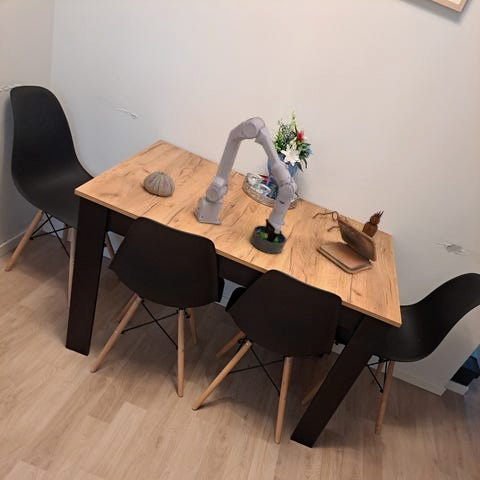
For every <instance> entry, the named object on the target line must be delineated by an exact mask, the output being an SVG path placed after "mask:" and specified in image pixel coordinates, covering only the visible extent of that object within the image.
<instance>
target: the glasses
mask: <svg viewBox="0 0 480 480" xmlns="http://www.w3.org/2000/svg"><path fill="white" fill-rule="evenodd" d="M334 213H335V214H336V219H335V217H334ZM319 215H321V216H326V215H331V219H332V220H333V221H335V222H338V221H337V219H338V218H341V219H343V218H342V217H341V216H340V215H339V212H338V211H336V210H334V211H332V212H331V211H329V212H326V213H322V212H317V213H316V214H314V216H313V217H312V218H313V219H315V218H316V217H317V216H319ZM344 220H345V221H346V222H348V223H349V224H350V221H348V220H347V219H344ZM334 228H335V229H339V226H337V225H336V226H335V225H334V226H331V227H330V228H329V229H327V232H331V230H333V229H334Z"/></svg>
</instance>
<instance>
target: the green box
mask: <svg viewBox="0 0 480 480" xmlns="http://www.w3.org/2000/svg"><path fill="white" fill-rule="evenodd" d="M258 236H260V237H261V238H263V239H264V240H267V236H268V234H267V233H263V232H260V234H258ZM273 243H278V239H277V237H276V239H275V240H274V241H273Z"/></svg>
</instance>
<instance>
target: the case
mask: <svg viewBox="0 0 480 480" xmlns="http://www.w3.org/2000/svg"><path fill="white" fill-rule="evenodd" d="M341 218H342V217H341ZM341 218H338V219H337V218H336V219H337V221H336V222H337V224H338V227H339V228H338V229H339V232H340V233H339V234H340V237H341V240H342V241H343V242H342V241H335V242H331V243H327V244H323V245H318V246H317V251H318V252H320V253H321V254H322V255H323V256H324V257H326V258H327V259H329V260H330V261H331V262H333V264H335V265H337V266H338V267H339V268H341V269H342V270H344V271H345V272H346V273H348V274H351V275H352V274H353V275H354V274H356V273H359V272H362V271H365V270H368V269H370V268H373V262H375V263H376V262H377V261H378V258H377V243H376V240H374V238H373V237H372V238H371V237H369V236H368V235H366V234H365V233H363V232H362V230H361V229H358V228H357V227H355V226H354V225H353V224H351V223H350V222H349V221H348V222H349V223H348V222H346V221H345V220H346V219H343V218H342V219H341Z"/></svg>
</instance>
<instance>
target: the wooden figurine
mask: <svg viewBox="0 0 480 480" xmlns="http://www.w3.org/2000/svg"><path fill="white" fill-rule="evenodd" d="M384 212H385V210H382V211H381V210H380V211H379V212H374V214H373V215H371V216H370V217H369V221H366V222H365V223H364V225H363V226H362V230H361V231H362V232H363V233H365V234H366V235H368V236H369V237H371V238H372V239H373V238H374V236H375V235H376V233H377V232H378V229H379V226H378V225H379V224H380V222H381V218H382V216H383V214H384Z"/></svg>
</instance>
